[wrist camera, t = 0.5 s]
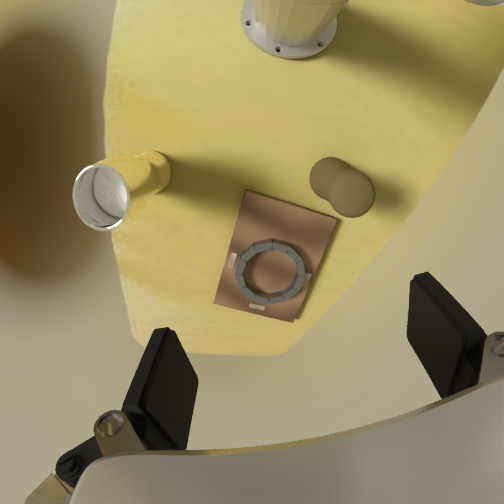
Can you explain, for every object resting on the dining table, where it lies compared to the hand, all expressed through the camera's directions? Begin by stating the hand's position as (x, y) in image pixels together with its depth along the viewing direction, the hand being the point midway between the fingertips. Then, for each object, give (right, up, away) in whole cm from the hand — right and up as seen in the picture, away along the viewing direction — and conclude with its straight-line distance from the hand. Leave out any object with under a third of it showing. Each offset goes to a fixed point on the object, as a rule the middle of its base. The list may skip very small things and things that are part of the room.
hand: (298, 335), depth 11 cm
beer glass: (-16, +14, +28) cm, 35 cm away
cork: (+9, +13, +28) cm, 32 cm away
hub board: (+1, +2, +33) cm, 33 cm away
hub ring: (+1, 0, +32) cm, 32 cm away
